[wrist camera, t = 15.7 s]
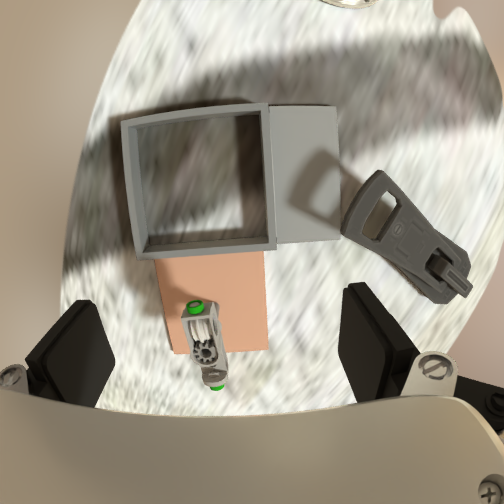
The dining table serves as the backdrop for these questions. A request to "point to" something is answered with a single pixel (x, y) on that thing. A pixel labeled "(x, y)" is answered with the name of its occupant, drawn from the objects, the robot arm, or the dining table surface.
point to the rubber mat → (217, 296)
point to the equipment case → (274, 178)
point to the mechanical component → (206, 341)
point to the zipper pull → (409, 242)
